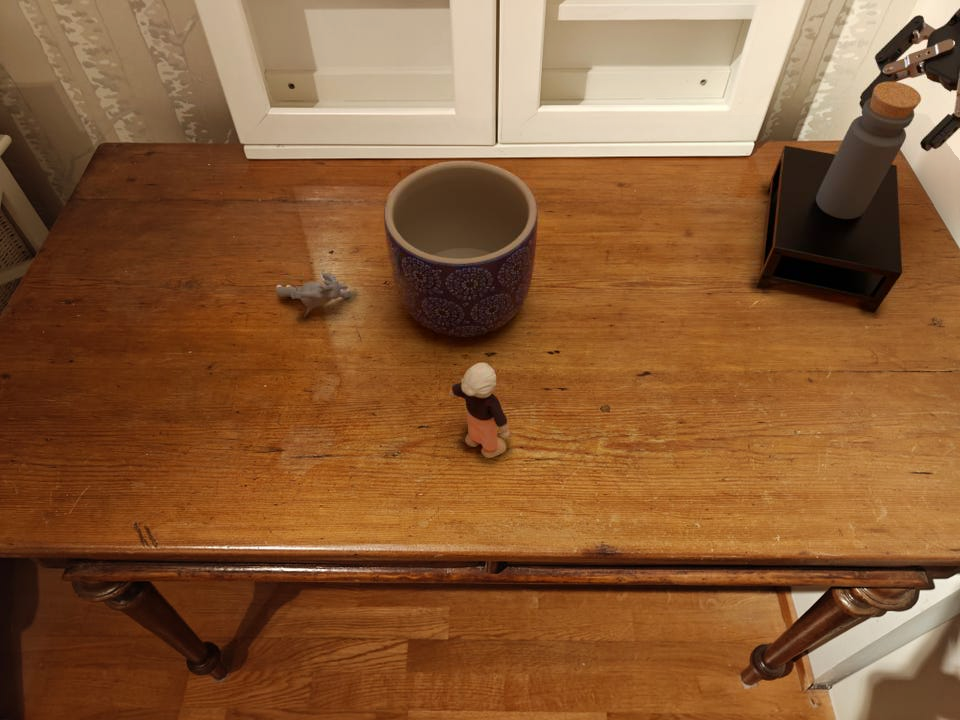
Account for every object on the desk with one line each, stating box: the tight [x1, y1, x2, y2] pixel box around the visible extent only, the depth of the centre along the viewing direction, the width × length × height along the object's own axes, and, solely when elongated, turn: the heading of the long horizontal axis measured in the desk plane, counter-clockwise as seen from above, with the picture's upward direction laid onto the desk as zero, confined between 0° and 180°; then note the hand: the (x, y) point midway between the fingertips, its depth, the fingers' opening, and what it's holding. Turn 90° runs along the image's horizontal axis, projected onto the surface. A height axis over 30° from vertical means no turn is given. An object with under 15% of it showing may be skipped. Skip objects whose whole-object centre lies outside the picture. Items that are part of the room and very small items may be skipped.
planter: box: [383, 160, 539, 338], centre depth 80 cm, size 16×17×15 cm
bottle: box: [816, 81, 922, 219], centre depth 80 cm, size 6×6×15 cm
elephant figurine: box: [275, 269, 353, 319], centre depth 84 cm, size 10×6×9 cm
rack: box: [755, 145, 903, 314], centre depth 89 cm, size 14×20×7 cm
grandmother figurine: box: [449, 362, 511, 459], centre depth 69 cm, size 8×4×13 cm, turn 59°
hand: (892, 127), depth 79 cm, fingers open, 8 cm apart
